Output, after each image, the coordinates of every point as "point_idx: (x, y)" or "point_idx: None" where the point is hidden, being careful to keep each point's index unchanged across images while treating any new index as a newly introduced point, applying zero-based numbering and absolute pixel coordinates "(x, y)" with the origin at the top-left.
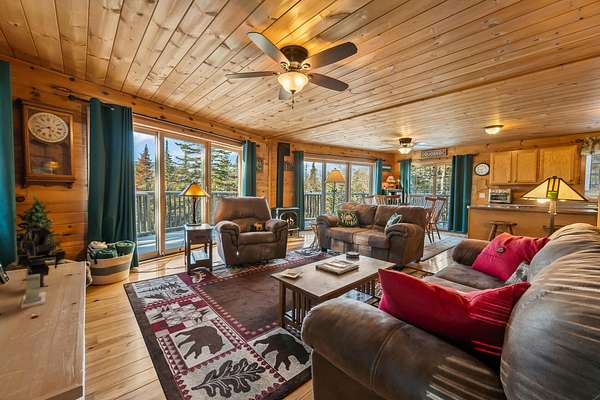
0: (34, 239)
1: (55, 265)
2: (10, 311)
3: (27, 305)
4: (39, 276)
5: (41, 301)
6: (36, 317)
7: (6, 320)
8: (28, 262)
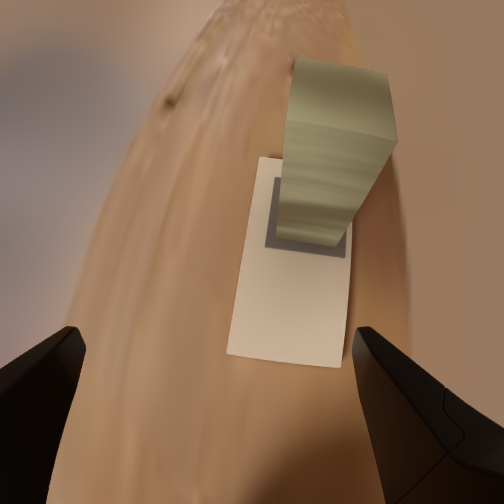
0: None
1: (51, 348)
2: (382, 174)
3: None
4: (295, 61)
5: (273, 165)
6: None
7: None
8: (490, 448)
